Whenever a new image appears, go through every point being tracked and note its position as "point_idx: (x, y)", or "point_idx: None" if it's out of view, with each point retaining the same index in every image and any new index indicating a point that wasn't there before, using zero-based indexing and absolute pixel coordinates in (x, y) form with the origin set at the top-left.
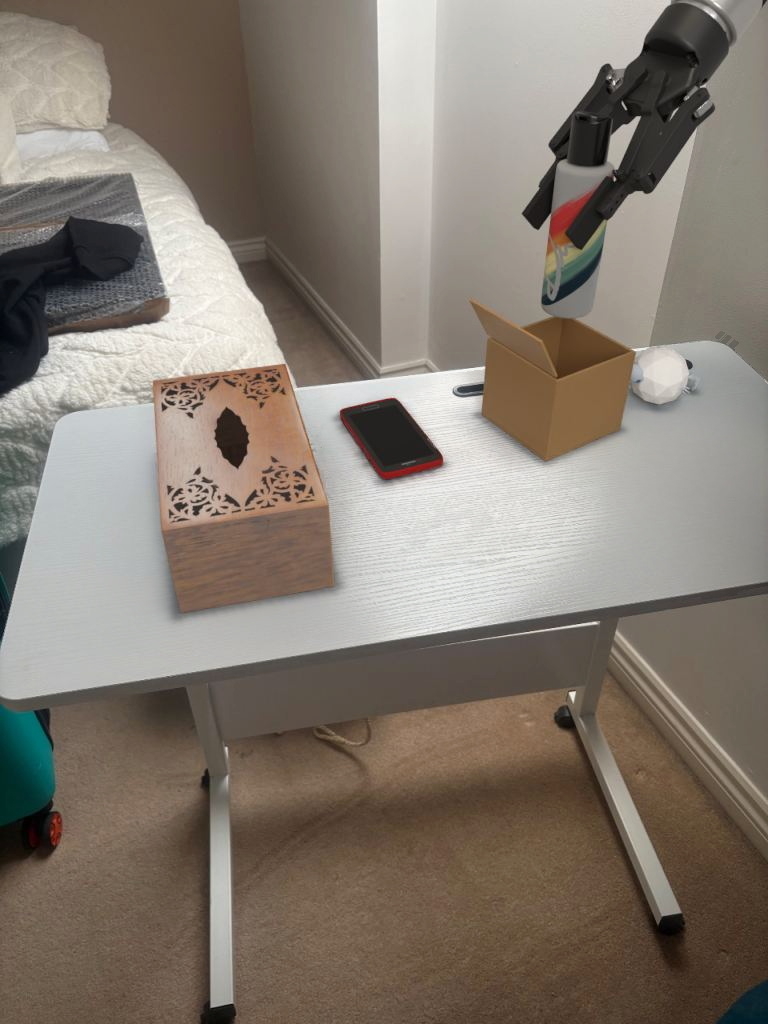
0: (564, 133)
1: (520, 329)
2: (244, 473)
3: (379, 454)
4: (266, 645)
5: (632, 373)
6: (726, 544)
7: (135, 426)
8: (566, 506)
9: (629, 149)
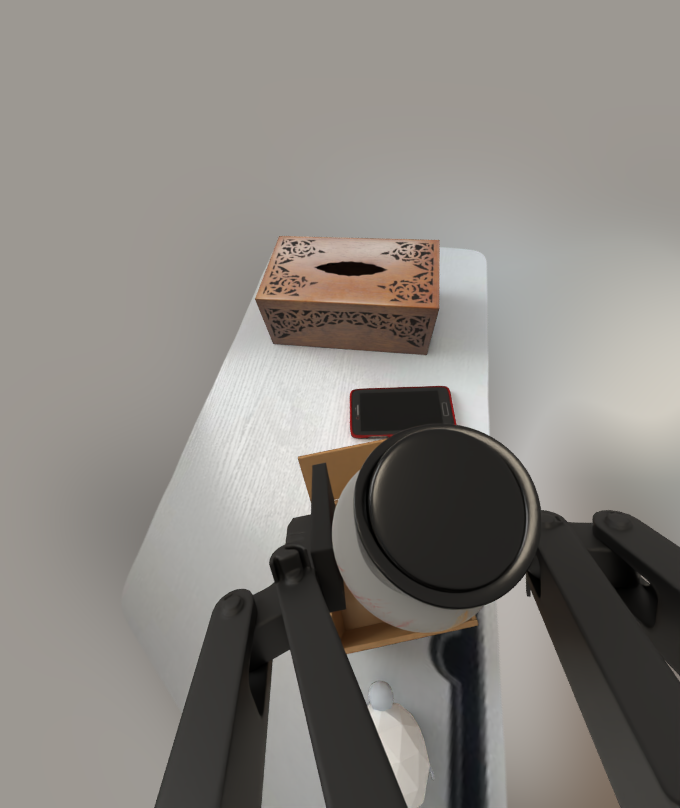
0: (644, 556)
1: (334, 450)
2: (307, 269)
3: (376, 395)
4: (253, 311)
5: (374, 685)
6: (156, 608)
7: (469, 279)
8: (265, 504)
9: (327, 644)
